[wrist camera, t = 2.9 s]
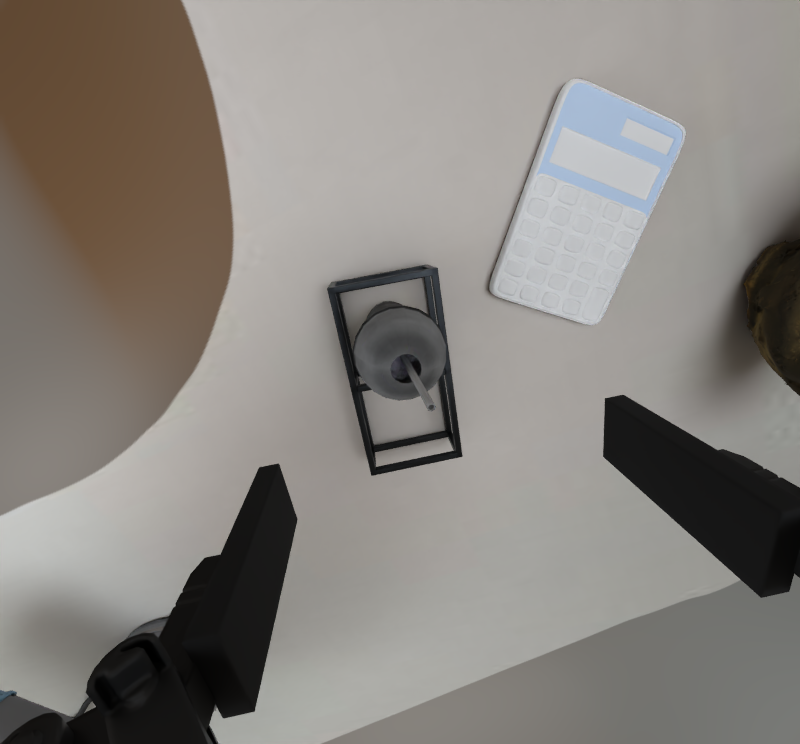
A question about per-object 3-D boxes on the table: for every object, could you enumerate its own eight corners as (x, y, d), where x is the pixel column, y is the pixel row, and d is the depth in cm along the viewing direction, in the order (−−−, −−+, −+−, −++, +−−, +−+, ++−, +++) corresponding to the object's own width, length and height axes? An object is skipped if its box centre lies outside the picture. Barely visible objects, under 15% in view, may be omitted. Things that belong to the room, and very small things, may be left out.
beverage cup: (384, 272, 38) (410, 303, 19) (436, 318, 40) (505, 385, 21) (340, 327, 39) (323, 405, 20) (392, 368, 41) (420, 473, 22)
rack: (370, 450, 44) (371, 476, 40) (330, 282, 38) (327, 288, 33) (451, 433, 45) (462, 456, 40) (427, 264, 38) (437, 267, 33)
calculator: (483, 292, 40) (489, 295, 38) (561, 78, 34) (573, 69, 32) (590, 325, 42) (600, 329, 40) (679, 132, 36) (696, 126, 35)
